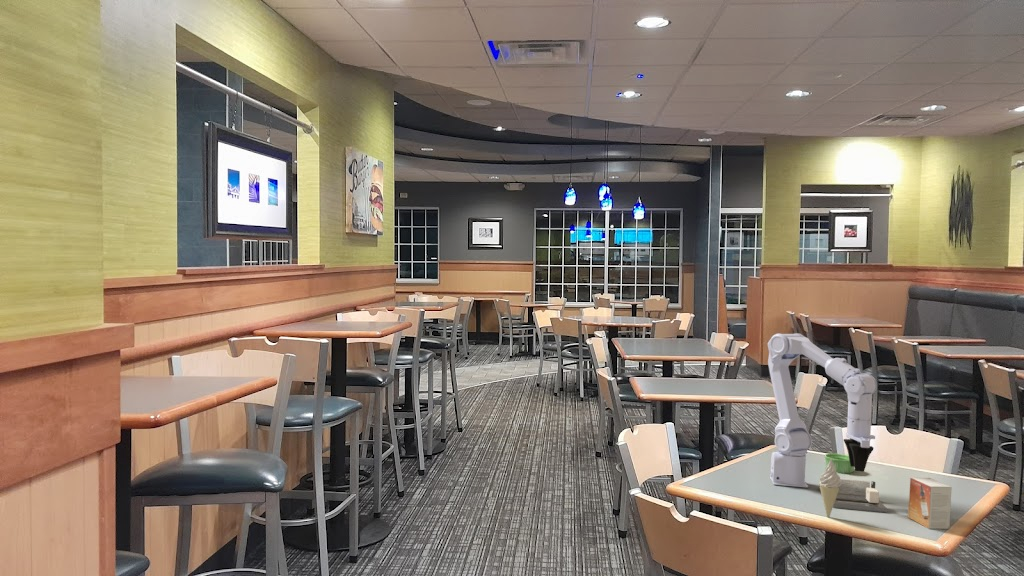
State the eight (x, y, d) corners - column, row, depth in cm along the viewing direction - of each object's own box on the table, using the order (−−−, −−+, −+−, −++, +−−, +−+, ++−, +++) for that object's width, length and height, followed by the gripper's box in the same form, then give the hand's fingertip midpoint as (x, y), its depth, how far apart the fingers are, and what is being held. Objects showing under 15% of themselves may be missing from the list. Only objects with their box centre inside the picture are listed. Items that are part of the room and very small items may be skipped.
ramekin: (860, 474, 224) (860, 460, 224) (831, 473, 224) (832, 459, 224) (847, 467, 233) (847, 453, 233) (819, 466, 233) (820, 452, 233)
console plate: (832, 507, 189) (833, 486, 189) (818, 488, 207) (819, 468, 207) (886, 512, 186) (887, 490, 186) (867, 492, 204) (868, 473, 204)
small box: (907, 518, 182) (909, 477, 182) (928, 518, 183) (930, 477, 183) (928, 529, 174) (930, 486, 174) (950, 529, 175) (952, 486, 175)
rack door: (829, 491, 199) (830, 479, 199) (828, 489, 200) (829, 477, 200) (869, 494, 197) (870, 482, 197) (868, 493, 198) (868, 481, 198)
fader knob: (869, 502, 189) (869, 491, 189) (865, 498, 193) (866, 487, 193) (878, 503, 189) (879, 492, 189) (874, 499, 192) (875, 488, 192)
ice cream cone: (837, 521, 177) (840, 461, 177) (815, 517, 180) (818, 458, 180) (840, 516, 182) (843, 457, 181) (819, 512, 184) (821, 454, 184)
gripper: (883, 424, 185) (881, 477, 185) (867, 414, 199) (865, 463, 200) (853, 422, 187) (851, 474, 187) (840, 412, 201) (838, 461, 201)
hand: (857, 468), depth 193 cm, fingers open, 4 cm apart
